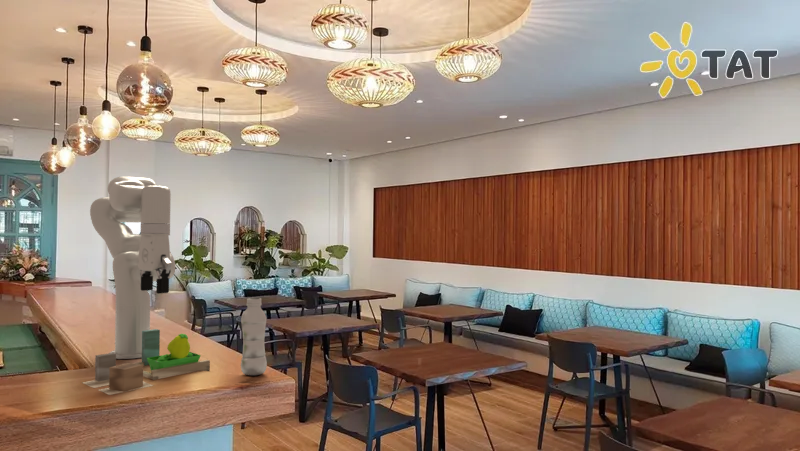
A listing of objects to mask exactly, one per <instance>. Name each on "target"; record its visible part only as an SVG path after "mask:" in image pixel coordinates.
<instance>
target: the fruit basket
mask: <svg viewBox="0 0 800 451" xmlns="http://www.w3.org/2000/svg"><path fill="white" fill-rule="evenodd" d="M167 350H168V352H169V354H168V353H166V354H163V355H159V356H155V357H149V358H147V360H148V362H149V365H148V366H149V368H150V371H151V370H156V369H161V368H167V367H172V366H177V365H182V364H188V363H193V362H198V361H200V359H201V354H197V353H196V352H195V353H194V352H193V351H190V350H191V344H190V342H189V337H188V335H187V334H185V333H179V334H178V335H176V336H175V337H174V338H173V339H172V340H170V342H169V343H168V345H167Z"/></svg>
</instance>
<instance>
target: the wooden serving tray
mask: <svg viewBox="0 0 800 451" xmlns="http://www.w3.org/2000/svg"><path fill="white" fill-rule="evenodd" d="M160 334H161V331H160V329H157V328H155V329H154V328H153V329H150V330H145V331H142V357H141V361H140V362H134V364H141V365H143V366H150V365H149V362H148V360H147V358H149V357H155V356H161V355H160V353H161V352H160V348H161V347H160V345H161V344H160V342H161V341H160V340H161V337H160V336H161V335H160ZM210 368H211V361H210V359H204V360H198V362H193V363H188V364H182V365H177V366H172V367H167V368H161V369H156V370H151V369H150V372H148V371H146V370H143V378H146V379H150V380H152V381H155V380H160V379H164V378H170V377H175V376H179V375H185V374H188V373H190V374H191V373H194V372H200V371H204V372H211V371H210Z"/></svg>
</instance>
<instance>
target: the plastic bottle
mask: <svg viewBox="0 0 800 451" xmlns="http://www.w3.org/2000/svg"><path fill="white" fill-rule="evenodd" d="M245 305H246V306H247V307H246V309H245V310H244V311H243V313H242V315H241V316H240V317H241V318H240V322H241V331H242V339H243V340H242V342H243V345H242V355H241V356H242V357H241V360H240V361H241V362H240V369H241V372H242V375H247V376H253V377H254V376H259V375H262V374H265V372H266V370H267V367H268V366H267V365H268V363H267V356H266V350H265V348H266V347H265V338H266V337H265V335H266V326H267V319H268V318H267V315H266V314H265V312H264V311H263V309H262V307H261V306H262V305H263V304H262V298H260V297H249V298H247V299H246V304H245Z"/></svg>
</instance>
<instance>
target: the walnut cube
mask: <svg viewBox="0 0 800 451" xmlns="http://www.w3.org/2000/svg"><path fill="white" fill-rule="evenodd" d="M134 363H135V362H134ZM134 363H133V362H125V363H122V364H121V363H120V364H116V366H113V367H109V385H108V388H109V389H112V390H117V391H123V392H122V393H125V391H126V392H129V390H131V391H133V390H132V389H135V388H139V387H142V386H143V382H144V376H143V371H144V365H141V364H134Z"/></svg>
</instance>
